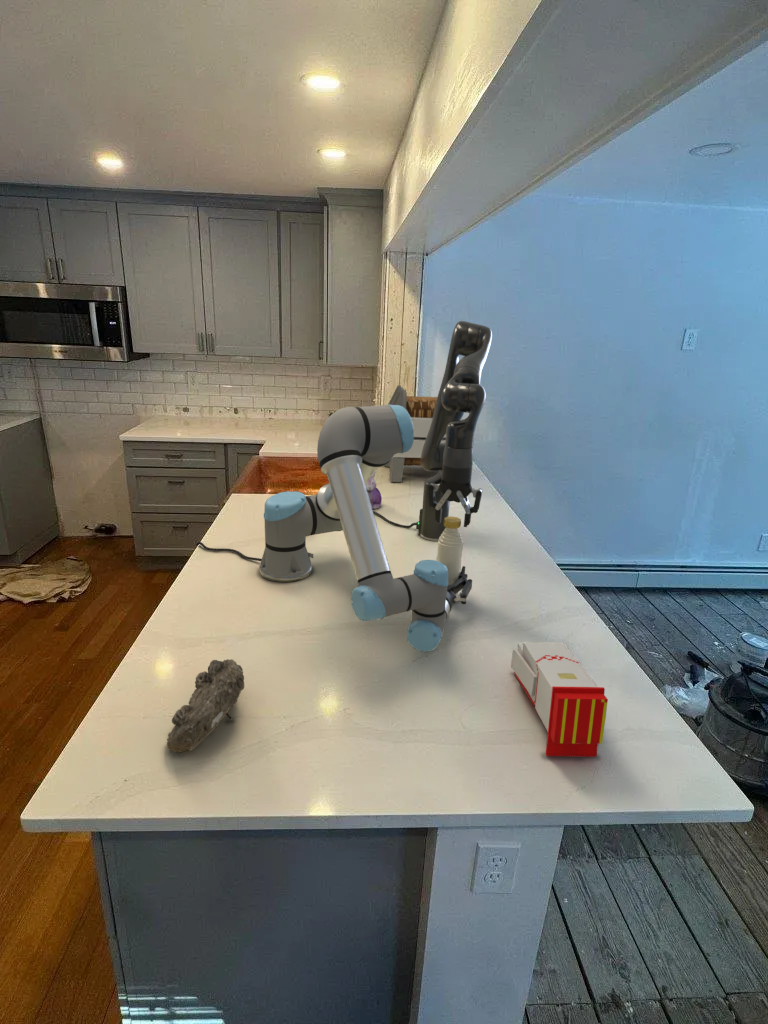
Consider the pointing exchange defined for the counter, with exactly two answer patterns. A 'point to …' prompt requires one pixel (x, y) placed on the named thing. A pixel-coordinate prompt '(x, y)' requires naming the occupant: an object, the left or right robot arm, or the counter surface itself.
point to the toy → (562, 697)
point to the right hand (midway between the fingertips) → (452, 524)
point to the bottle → (450, 553)
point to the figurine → (373, 493)
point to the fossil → (206, 705)
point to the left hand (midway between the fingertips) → (450, 568)
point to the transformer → (421, 419)
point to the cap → (452, 522)
